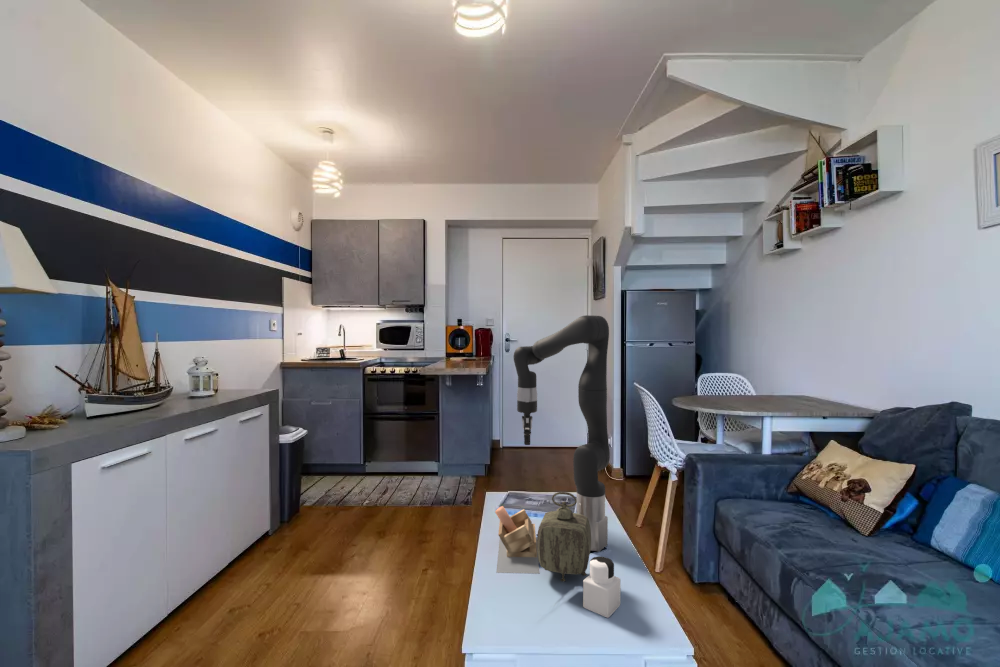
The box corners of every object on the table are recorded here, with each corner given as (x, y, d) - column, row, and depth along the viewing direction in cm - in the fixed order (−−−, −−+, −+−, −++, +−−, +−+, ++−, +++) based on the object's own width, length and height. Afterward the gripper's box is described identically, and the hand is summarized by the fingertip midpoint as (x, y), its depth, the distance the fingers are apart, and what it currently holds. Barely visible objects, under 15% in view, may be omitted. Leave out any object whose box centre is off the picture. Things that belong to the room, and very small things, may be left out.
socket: (535, 537, 155) (535, 509, 155) (536, 557, 141) (536, 526, 141) (500, 536, 155) (500, 508, 155) (498, 556, 142) (498, 525, 142)
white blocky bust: (595, 595, 124) (595, 550, 123) (620, 605, 119) (621, 559, 119) (582, 607, 118) (582, 561, 118) (608, 619, 114) (608, 570, 113)
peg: (516, 535, 151) (498, 507, 151) (523, 534, 149) (505, 505, 149) (511, 542, 148) (493, 513, 148) (518, 541, 146) (499, 511, 146)
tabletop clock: (591, 575, 133) (591, 489, 133) (588, 593, 124) (588, 500, 124) (541, 568, 137) (541, 484, 137) (535, 585, 128) (535, 495, 128)
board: (539, 577, 132) (539, 573, 132) (496, 576, 133) (496, 572, 133) (536, 540, 155) (536, 536, 155) (499, 539, 156) (499, 536, 156)
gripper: (517, 396, 182) (517, 437, 182) (517, 402, 168) (517, 446, 168) (536, 396, 182) (536, 437, 182) (537, 402, 168) (537, 446, 168)
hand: (527, 441), depth 175 cm, fingers open, 8 cm apart
